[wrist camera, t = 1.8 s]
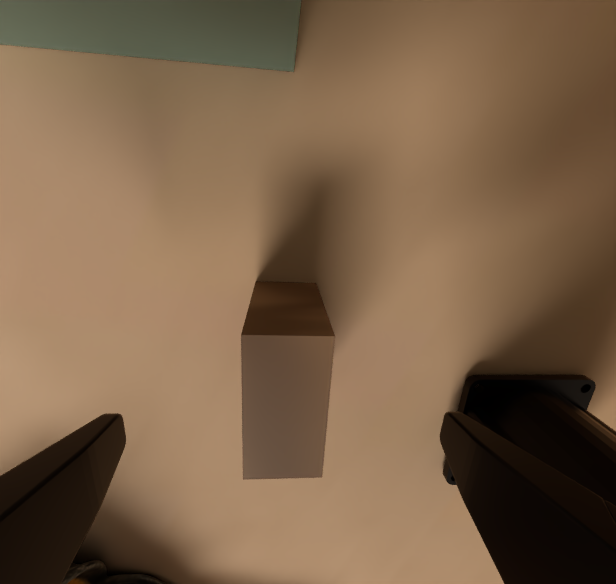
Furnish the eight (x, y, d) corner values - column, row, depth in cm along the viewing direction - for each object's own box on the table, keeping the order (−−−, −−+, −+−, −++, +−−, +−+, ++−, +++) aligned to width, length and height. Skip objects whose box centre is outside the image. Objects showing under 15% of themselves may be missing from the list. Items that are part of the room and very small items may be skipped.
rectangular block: (316, 282, 13) (334, 336, 8) (309, 384, 15) (322, 477, 10) (255, 281, 13) (241, 334, 8) (255, 384, 15) (243, 479, 10)
